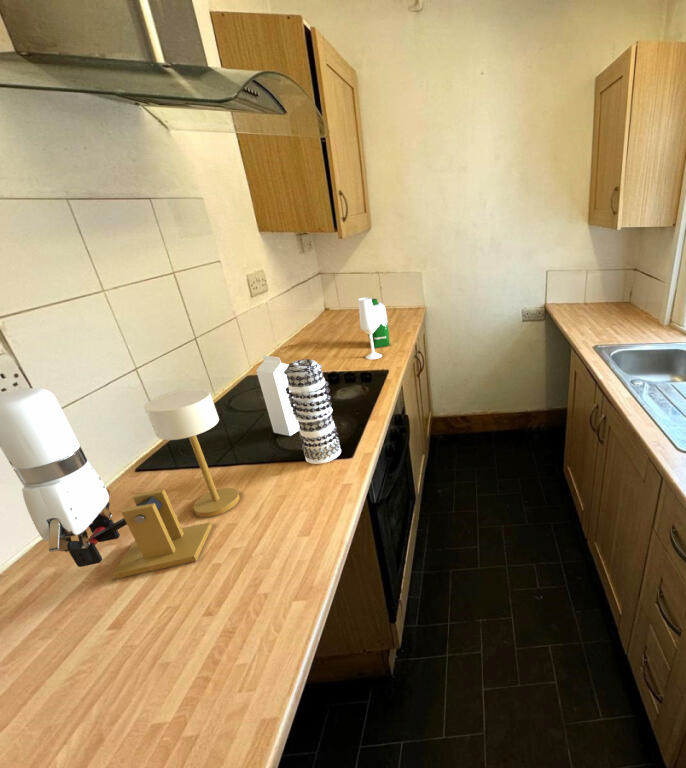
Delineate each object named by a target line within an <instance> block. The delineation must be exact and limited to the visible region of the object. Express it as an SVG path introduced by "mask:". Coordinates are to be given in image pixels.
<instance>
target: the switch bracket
mask: <svg viewBox="0 0 686 768" xmlns="http://www.w3.org/2000/svg"><path fill="white" fill-rule="evenodd" d="M151 496H152V497H154V498H155V499H156V500H158V501H159V502H160V503H161V504H163V505H162V506H161V508H160V509H159V511H158V509H157V507H156V505H155V503H153V504H147V505H142V506H137V504H139V503H141V502H142V501H144V500H146V499H148V498H149V497H151ZM132 500H133V501H134V503H135V505H136V506H131V507H125V508H123V509H122V510H121V515H122V517H123V518H124V519H125V521H126V523H127V525H126V526H127V527H128V528H129V529H128V530H129V531H130V533H131V535H132V537H133V539H134V542H133V543H132V544H131V546H130V548H129V549H128V551H127V552H126V554H125V555H124V556H123V558H122V559H121V561H120V563H119V564H118V565H117V567H116V568H115V570H114V572H113V573H112V575H113V577H114V579H115V580H116V579H121V578H125V577H130V576H135V575H140V574H144V573H149V572H152V571H157V570H162V569H165V568H170V567H175V566H180V565H184V564H188V563H193V562H196V561H197V560H198V558H199V556H200V555H201V552H202V550H203V547H204V546H205V543H206V542H207V539H208V537H209V534H210V533H211V530H212V528H213V526H212V523H211V522H206V523H201V524H196V525H191V526H186V527H181V524H180V522H179V520H178V517H177V515H176V512H175V510H174V508H173V505H172V504H171V503H172V502H171V500H170V499H169V496H168V494H167V492H166V490H165V488H162V489H156V490H152V491H151V490H150V491H146V492H140V493H134V495H133V496H132Z"/></svg>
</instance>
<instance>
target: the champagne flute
mask: <svg viewBox="0 0 686 768" xmlns="http://www.w3.org/2000/svg"><path fill="white" fill-rule="evenodd" d="M371 299H372V297H361V298H358V300H357V301H358V314H359V328H360V329H361V331H362V332H364V333H365V334H367V335H368V334H369V337H368V339H369V338H370V340H369V343H370V350H371V351H370V353H369V354H368V355H366V356H365V359H367V360H377V359H381V358H382V357H383V354H381V353H378V352H376V351H375V348H374V344H373V338H372V334H373V333H374V332H375V330H376V329H377V327H378V324H377V320H376V316H375V312H374V308H373V304H372V300H371Z"/></svg>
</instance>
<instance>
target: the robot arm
mask: <svg viewBox="0 0 686 768" xmlns="http://www.w3.org/2000/svg"><path fill="white" fill-rule="evenodd" d="M0 449H1V451H2V452H3V454H4V456H5V458H6V459H7V461H8V462H9V464H10V466H11V467H12V469H13V471H14V473H15V475H16V476H17V478H18V479H19V481H20V483H21V484H22V486H23V487H22V489H21V491H22V497H23V500H24V504H25V507H26V509H27V512H28V514H29V517H30V518H31V521H32V524H33V525H34V527H35V529H36V531H37V532H38V534H39V536H40V537H41V539H42V540H43V541H45V542H48V552H49V553H54V552H65V553H69V555H70V556H71V558H72V560H73V561H74V563H75V564H76V566H77V567H78V568H82V567H88V566H92V565H97V564H100V563H101V562H102V561H103V557H102V555H101V553H100V552H99V550H98V547H97V546H96V545H95V544H94V543H89V539H88V538H89V536H88V535H89V534H88V531H87V529H88V527H89V529H90V531H91V534H92V533H93V532H94V531H95V530H96V529H97V528H98V527H101V526H102V527H105V528H107V527H109V526H111V525H112V524H114V523H115V522H114V520H113V519H112V518H113V513H112V512H111V510H110V505H111V504H110V502H109V501H110V496H111V495H110V494H111V492H110V490H109V489H108V488H106V485H105V483H104V482H103V480H102V478H101V476H100V475H99V473H98V472H97V470H96V468H94V466H93V465H92V464H91V462H90V461H89V460H88V458H87V456H86V454H85V452H84V450H83V448H82V446H81V444H80V443H79V440H78V439H77V437H76V435H75V433H74V431H73V429H72V427H71V424H70V423H69V421H68V418H67V417H66V415H65V413H64V411H63V408H62V407H61V405H60V403H59V401H58V399H57V398H56V396H55V395H54V393H53V392H52V391H50V390H48V389H45V388H41V387H31V388H21V389H15V390H12V391H0ZM74 536H75V537H76V536H77V538H78V540H72V537H74ZM120 536H121V534H120V532H119V529H118V530H116V531H115V532H113V533H111V534H110V535H108V536H106V537H104V538H103V539H101V540H99V541H98V542H97V543H103V542H108V541H113V540H117V539H119V538H120Z"/></svg>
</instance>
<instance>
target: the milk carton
mask: <svg viewBox="0 0 686 768" xmlns="http://www.w3.org/2000/svg"><path fill="white" fill-rule="evenodd" d="M371 300H372V304H373V308H374V312H375V316H376V320H377V324H378V327H377V329H376V330H375V332H374V333H373V334H372V338H373V344H374V349H377V348H385V347H390V331H389V323H388V315H387V309H386V306H385V304H384V303H383V302H378V299H377V298H371ZM367 336H368V340H369V341H370V338H369V334H367Z"/></svg>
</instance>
